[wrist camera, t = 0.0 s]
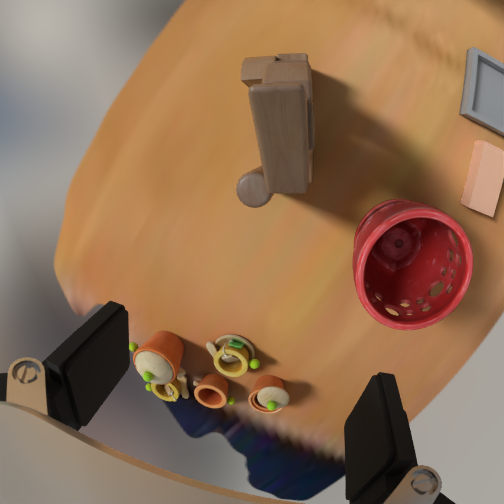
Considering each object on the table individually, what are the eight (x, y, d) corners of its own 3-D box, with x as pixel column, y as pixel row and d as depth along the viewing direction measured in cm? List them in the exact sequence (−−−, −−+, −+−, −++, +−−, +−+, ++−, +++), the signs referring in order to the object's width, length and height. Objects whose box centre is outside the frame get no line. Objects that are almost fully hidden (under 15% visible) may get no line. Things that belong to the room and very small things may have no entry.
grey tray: (467, 50, 28) (473, 46, 26) (520, 80, 27) (527, 79, 25) (459, 114, 31) (466, 113, 29) (512, 141, 30) (520, 142, 28)
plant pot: (434, 185, 35) (477, 203, 24) (435, 278, 39) (468, 322, 28) (338, 194, 38) (351, 216, 27) (347, 290, 42) (358, 340, 31)
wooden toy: (253, 68, 34) (173, -23, 11) (307, 66, 33) (303, -39, 10) (258, 188, 40) (185, 257, 16) (311, 187, 38) (317, 260, 15)
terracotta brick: (474, 140, 32) (484, 140, 29) (497, 152, 32) (508, 153, 29) (458, 202, 35) (468, 207, 33) (482, 212, 35) (492, 217, 32)
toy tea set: (157, 389, 56) (137, 423, 47) (135, 323, 51) (106, 355, 42) (292, 400, 51) (287, 442, 42) (289, 328, 46) (284, 370, 37)
